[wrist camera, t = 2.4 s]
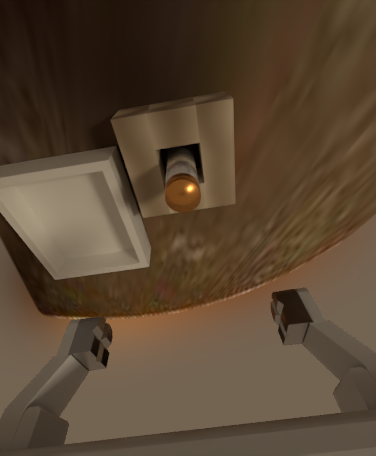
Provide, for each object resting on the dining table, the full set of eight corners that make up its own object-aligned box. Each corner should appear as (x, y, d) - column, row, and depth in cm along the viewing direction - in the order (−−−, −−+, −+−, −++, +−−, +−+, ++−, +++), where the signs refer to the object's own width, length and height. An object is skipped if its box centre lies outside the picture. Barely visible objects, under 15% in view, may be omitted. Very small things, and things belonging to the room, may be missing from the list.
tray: (116, 146, 26) (108, 159, 23) (150, 247, 36) (148, 266, 33) (-2, 165, 27) (-25, 181, 23) (65, 259, 37) (55, 279, 33)
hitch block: (224, 91, 23) (233, 98, 20) (228, 187, 30) (235, 203, 27) (118, 109, 24) (110, 119, 20) (146, 200, 30) (143, 217, 27)
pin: (191, 137, 26) (198, 178, 18) (194, 163, 28) (203, 209, 20) (164, 142, 26) (161, 184, 18) (170, 167, 28) (168, 214, 20)
